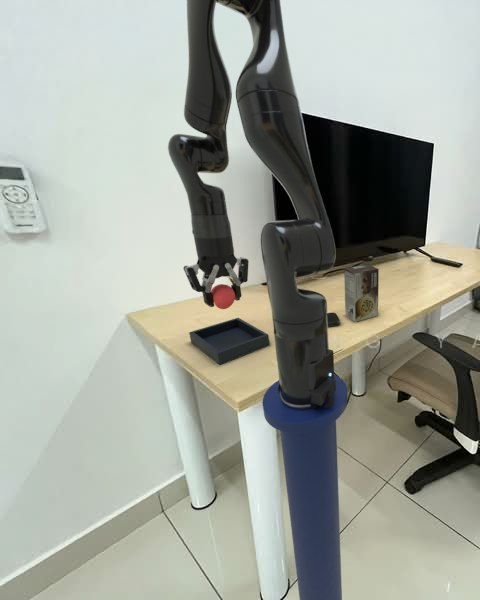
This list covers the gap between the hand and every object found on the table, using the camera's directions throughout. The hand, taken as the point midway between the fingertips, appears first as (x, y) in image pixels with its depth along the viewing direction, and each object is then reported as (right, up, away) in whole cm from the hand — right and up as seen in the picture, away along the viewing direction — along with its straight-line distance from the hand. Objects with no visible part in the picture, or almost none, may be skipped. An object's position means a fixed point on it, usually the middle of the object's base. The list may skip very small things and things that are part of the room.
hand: (224, 302), depth 77 cm
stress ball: (0, -1, 0) cm, 1 cm away
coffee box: (+31, -5, +25) cm, 40 cm away
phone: (+17, -7, +18) cm, 26 cm away
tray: (-1, -11, +4) cm, 12 cm away
